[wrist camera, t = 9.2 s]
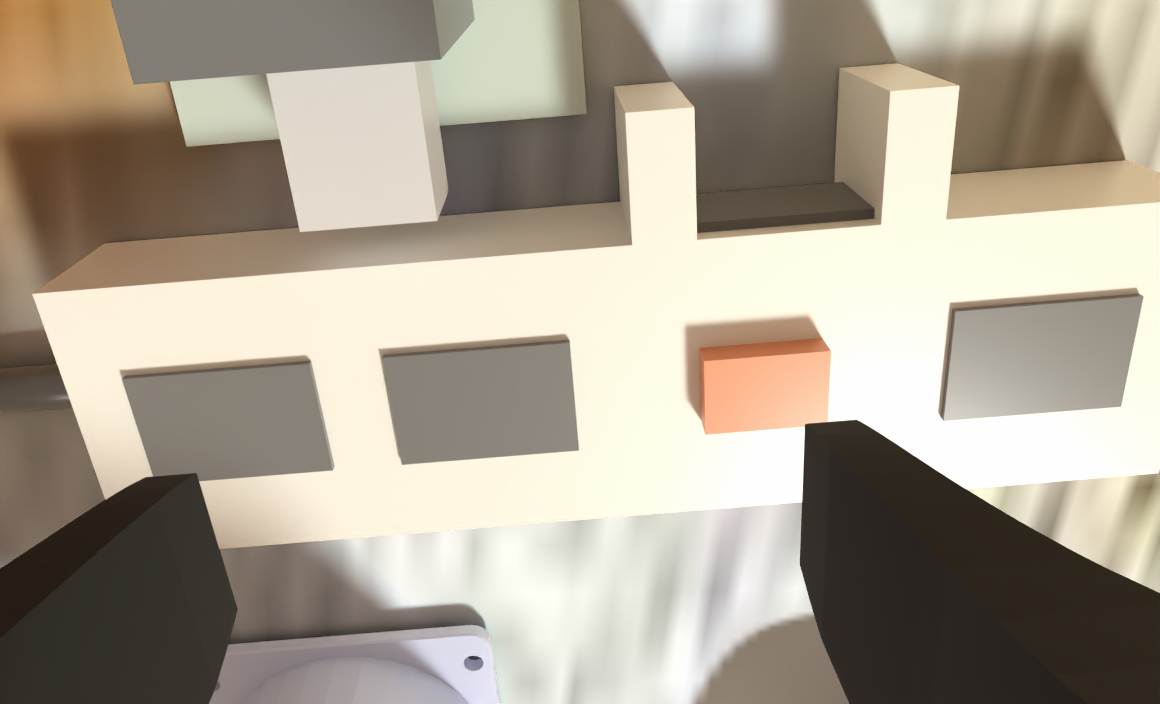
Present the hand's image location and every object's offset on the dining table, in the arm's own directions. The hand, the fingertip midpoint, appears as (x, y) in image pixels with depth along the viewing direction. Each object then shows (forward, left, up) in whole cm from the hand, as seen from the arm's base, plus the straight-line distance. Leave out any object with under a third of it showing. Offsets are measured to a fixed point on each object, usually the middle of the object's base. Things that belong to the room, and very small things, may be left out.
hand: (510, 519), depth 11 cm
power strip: (-1, +1, -10) cm, 10 cm away
